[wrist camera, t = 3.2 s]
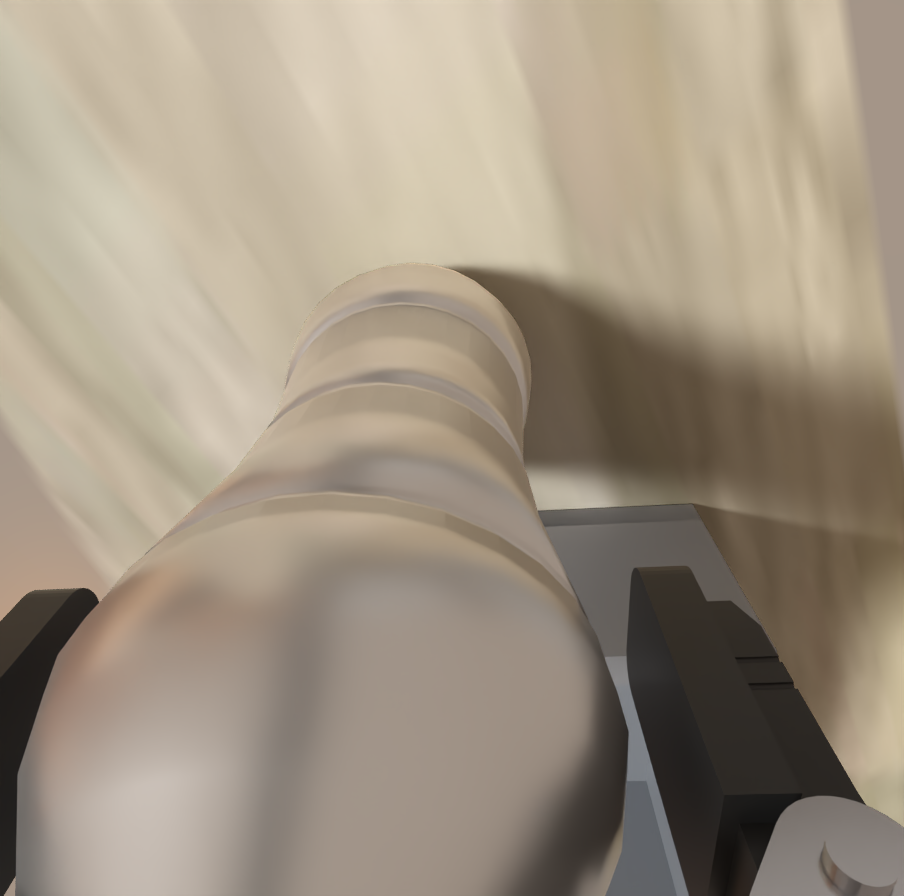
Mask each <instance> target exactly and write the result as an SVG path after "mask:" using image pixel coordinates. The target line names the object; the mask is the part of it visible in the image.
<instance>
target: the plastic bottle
mask: <svg viewBox="0 0 904 896" xmlns="http://www.w3.org/2000/svg"><path fill="white" fill-rule="evenodd" d="M530 393H531V362H530V357H529V353H528V349H527V346H526V342H525V338H524V336H523V334H522V333H521V331H520V329H519V327H518V325H517V323H516V321H515V319H514V318H513V316H512V315H511V314H510V313H509V312H508V310H507V309H506V308H505V307H504V306H503V304H502V303H501V302H500V301H499V300H498V299H497V298H496V297H495V296H493V295H492V294H491V293H490V292H488V291H487V290H486V289H484V288H483V287H482V286H481V285H479V284H478V283H477V282H475V281H474V280H472V279H470V278H468V277H466V276H464V275H462V274H461V273H459V272H457V271H455V270H451V269H447V268H444V267H440V266H437V265H433V264H419V263H406V264H397V265H389V266H386V267H382V268H379V269H376V270H373V271H370V272H367V273H364V274H361V275H358V276H356V277H354V278H352V279H351V280H349V281H347V282H345V283H344V284H342V285H340V286H338V287H337V288H335V289H334V290H333V291H332V292H331V293H330V294H329V295H327V296H326V297H325V298H324V299H323V300H322V301H321V302H319V303H318V305H317V306H316V307H315V309H314V310H313V311H312V313H311V314H310V315H309V317H308V318H307V319H306V321H305V322H304V324H303V326H302V328H301V331H300V333H299V335H298V337H297V340H296V342H295V344H294V348H293V351H292V354H291V358H290V361H289V366H288V371H287V375H286V380H285V390H284V394H283V396H282V399H281V401H280V404H279V406H278V409H277V411H276V413H275V416H274V418H273V421H272V422H271V424H270V425H269V426H268V428H267V429H266V430H265V431H264V433H263V434H262V435H261V437H260V438H259V439H258V440H257V442H256V443H255V444H254V446H253V447H252V448H251V450H250V451H249V452H248V453H247V455H246V456H245V457H244V459H243V460H242V461H241V463H240V464H239V465H238V466H237V468H236V469H235V470H234V471H233V472H232V473H231V474H230V475H229V476H227V477H226V478H225V479H224V480H223V481H222V482H221V483H220V484H219V485H218V486H217V487H216V488H215V489H214V490H213V491H211V492H210V493H209V494H208V495H207V496H206V497H205V498H204V499H203V500H202V501H201V502H200V503H199V504H198V505H197V506H196V507H194V508H193V509H192V510H191V511H190V512H189V513H188V514H187V515H186V516H185V517H184V518H183V519H182V520H181V521H180V522H178V523H177V524H176V525H175V526H174V527H173V528H172V529H171V530H170V531H169V532H168V533H167V534H166V535H165V536H164V537H163V538H161V539H160V540H159V541H158V542H157V543H156V544H155V545H154V546H153V547H152V548H151V549H150V550H149V551H148V552H147V553H146V554H145V555H144V556H143V557H142V558H141V559H140V560H138V561H137V562H136V563H135V564H133V565H132V566H131V567H130V568H129V569H128V570H127V571H126V572H125V573H124V575H123V576H122V577H121V578H120V579H119V581H118V582H117V583H116V584H115V585H114V586H113V588H112V589H111V590H110V591H109V592H108V593H107V595H106V596H105V597H104V598H103V599H102V600H101V601H100V602H99V603H98V604H97V606H96V607H95V608H94V609H93V610H92V611H91V612H90V613H89V614H88V615H87V617H86V618H85V619H84V620H83V622H82V623H81V624H80V626H79V627H78V628H77V630H76V631H75V632H74V634H73V635H72V636H71V638H70V639H69V640H68V642H67V643H66V644H65V646H64V647H63V648H62V650H61V651H60V652H59V654H58V655H57V658H56V661H55V664H54V666H53V669H52V672H51V675H50V678H49V680H48V683H47V686H46V689H45V691H44V694H43V697H42V700H41V703H40V706H39V710H38V713H37V716H36V719H35V722H34V725H33V728H32V731H31V734H30V737H29V740H28V743H27V747H26V750H25V753H24V756H23V759H22V762H21V765H20V768H19V771H18V779H17V834H16V890H15V896H605V895H606V892H607V890H608V887H609V885H610V882H611V879H612V877H613V874H614V871H615V868H616V865H617V863H618V860H619V857H620V854H621V851H622V841H623V827H624V813H625V799H626V786H627V772H628V739H629V731H628V727H627V724H626V720H625V717H624V713H623V710H622V706H621V703H620V699H619V696H618V692H617V690H616V687H615V685H614V682H613V679H612V677H611V674H610V671H609V669H608V666H607V663H606V660H605V657H604V655H603V652H602V649H601V646H600V643H599V640H598V637H597V635H596V633H595V631H594V630H593V628H592V626H591V625H590V623H589V621H588V617H587V615H586V613H585V611H584V609H583V607H582V605H581V603H580V600H579V598H578V596H577V594H576V592H575V590H574V588H573V586H572V584H571V582H570V580H569V578H568V575H567V573H566V571H565V569H564V567H563V565H562V563H561V561H560V559H559V557H558V555H557V553H556V550H555V548H554V546H553V544H552V542H551V540H550V538H549V536H548V534H547V532H546V530H545V528H544V525H543V523H542V521H541V519H540V517H539V514H538V511H537V507H536V504H535V500H534V497H533V493H532V490H531V486H530V483H529V479H528V476H527V472H526V469H525V466H524V462H523V430H524V427H525V424H526V420H527V414H528V408H529V402H530Z"/></svg>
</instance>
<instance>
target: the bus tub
mask: <svg viewBox="0 0 904 896" xmlns="http://www.w3.org/2000/svg"><path fill="white" fill-rule="evenodd" d="M538 514H539V517H540V519H541V521H542V523H543V525H544V528H545V530H546V532H547V534H548V536H549V538H550V540H551V542H552V544H553V546H554V548H555V550H556V553H557V555H558V557H559V559H560V561H561V563H562V565H563V567H564V569H565V571H566V573H567V575H568V578H569V580H570V582H571V584H572V586H573V588H574V590H575V592H576V594H577V596H578V598H579V600H580V603H581V605H582V607H583V609H584V611H585V613H586V615H587V617H588V621H589V623H590V625H591V626H592V628H593V630H594V631H595V633H596V635H597V637H598V640H599V643H600V646H601V649H602V652H603V655H604V657H605V660H606V663H607V666H608V669H609V671H610V674H611V677H612V679H613V682H614V685H615V687H616V690H617V692H618V696H619V699H620V703H621V706H622V710H623V713H624V717H625V720H626V724H627V727H628V731H629V739H628V772H627V786H626V799H625V813H624V827H623V841H622V851H621V854H620V857H619V860H618V863H617V865H616V868H615V871H614V874H613V877H612V879H611V882H610V885H609V887H608V890H607V892H606V895H605V896H689V895H688V891H687V888H686V884H685V881H684V877H683V874H682V870H681V866H680V863H679V859H678V856H677V852H676V849H675V845H674V842H673V838H672V835H671V831H670V828H669V824H668V821H667V817H666V814H665V810H664V807H663V803H662V800H661V796H660V793H659V789H658V786H657V782H656V778H655V775H654V771H653V768H652V764H651V761H650V757H649V754H648V750H647V747H646V743H645V740H644V736H643V733H642V729H641V726H640V722H639V719H638V715H637V712H636V708H635V705H634V701H633V697H632V694H631V690H630V685H629V679H628V671H627V658H626V648H627V631H628V616H629V600H630V584H631V575H632V571H633V569H634V568H636V567H661V566H688V567H689V568H690V569H691V570H692V572H693V574H694V576H695V578H696V580H697V582H698V584H699V586H700V588H701V590H702V592H703V594H704V596H705V598H706V600H707V601H728V600H731V601H732V602H733V603H734V604H735V605H737V606H738V607H739V608H740V609H742V610H743V611H744V612H745V613H746V614H748V615H749V616H750V617H751V618H752V619H754V620H755V621H756V622H757V623H758V624H760V625H761V627H762V628H763V626H762V624H761V622H760V621H759V619H758V617H757V615H756V614H755V612H754V610H753V608H752V607H751V605H750V603H749V601H748V600H747V598H746V596H745V594H744V593H743V591H742V589H741V587H740V586H739V584H738V582H737V581H736V579H735V577H734V575H733V574H732V572H731V570H730V568H729V567H728V565H727V563H726V561H725V560H724V558H723V556H722V554H721V553H720V551H719V549H718V547H717V546H716V544H715V542H714V540H713V539H712V537H711V535H710V533H709V532H708V530H707V528H706V527H705V525H704V523H703V521H702V520H701V518H700V516H699V514H698V513H697V511H696V509H695V507H694V506H693V504H681V505H659V506H638V507H616V508H594V509H573V510H551V511H538ZM763 630H764V632H765V634H766V635H767V633H766V631H765V629H764V628H763ZM767 637H768V639H769V641H770V642H771V644H772V646H773V647H774V645H773V643H772V641H771V640H770V638H769V636H768V635H767ZM774 649H775V651H776V653H777V650H776V648H775V647H774Z"/></svg>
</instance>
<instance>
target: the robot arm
mask: <svg viewBox="0 0 904 896" xmlns="http://www.w3.org/2000/svg"><path fill="white" fill-rule="evenodd" d="M98 603H99V601H98V599H97V597H96V595H95V594H94V593H93V592H92V591H91V590H89V589H86V588H76V589H53V590H34V591H32V592H30V593H28V594H26V595H25V596H24V597H23V598H22V599H21V600H20V601H19V602H18V603H17V604H16V605H15V607H14V608H13V609H12V610H11V611H10V612H9V613H8V614H7V615H6V616H5V617H4V618H3V620H1V621H0V896H4V894H5V892H6V891H7V889H8V888H9V886H10V884H11V883H12V881H13V879H14V878H15V876H16V834H17V779H18V771H19V768H20V765H21V762H22V759H23V756H24V753H25V750H26V747H27V743H28V740H29V737H30V734H31V731H32V728H33V725H34V722H35V719H36V716H37V713H38V710H39V706H40V703H41V700H42V697H43V694H44V691H45V689H46V686H47V683H48V680H49V678H50V675H51V672H52V669H53V666H54V664H55V661H56V658H57V655H58V654H59V652H60V651H61V650H62V648H63V647H64V646H65V644H66V643H67V642H68V640H69V639H70V638H71V636H72V635H73V634H74V632H75V631H76V630H77V628H78V627H79V626H80V624H81V623H82V622H83V620H84V619H85V618H86V617H87V615H88V614H89V613H90V612H91V611H92V610H93V609H94V608H95V607H96V606H97V604H98ZM626 658H627V671H628V679H629V685H630V690H631V694H632V697H633V701H634V705H635V708H636V712H637V715H638V719H639V722H640V726H641V729H642V733H643V736H644V740H645V743H646V747H647V750H648V754H649V757H650V761H651V764H652V768H653V771H654V775H655V778H656V782H657V786H658V789H659V793H660V796H661V800H662V803H663V807H664V810H665V814H666V817H667V821H668V824H669V828H670V831H671V835H672V838H673V842H674V845H675V849H676V852H677V856H678V859H679V863H680V866H681V870H682V874H683V877H684V881H685V884H686V888H687V891H688V895H689V896H904V828H903V827H902V826H901V825H900V824H898V823H897V822H895V821H894V820H892V819H891V818H889V817H888V816H886V815H885V814H883V813H881V812H879V811H877V810H875V809H873V808H871V807H869V806H867V805H866V804H865V803H864V801H863V800H862V798H861V797H860V795H859V794H858V792H857V790H856V789H855V787H854V785H853V784H852V782H851V780H850V778H849V777H848V775H847V773H846V771H845V770H844V768H843V766H842V765H841V763H840V761H839V759H838V758H837V756H836V754H835V753H834V751H833V749H832V747H831V746H830V744H829V742H828V740H827V739H826V737H825V735H824V734H823V732H822V730H821V728H820V727H819V725H818V723H817V721H816V720H815V718H814V716H813V715H812V713H811V711H810V709H809V708H808V706H807V704H806V703H805V701H804V699H803V697H802V696H801V694H800V692H799V690H798V689H795V688H794V684H793V680H792V678H791V677H790V675H789V673H788V672H787V670H786V668H785V666H784V665H783V663H782V662H779V659H778V654H777V653H776V651H775V649H774V647H773V646H772V644H771V642H770V641H769V639H768V637H767V635H766V634H765V632H764V630H763V628H762V627H761V625H760V624H758V623H757V622H756V621H755V620H754V619H752V618H751V617H750V616H749V615H748V614H746V613H745V612H744V611H743V610H742V609H740V608H739V607H738V606H737V605H735V604H734V603H733V602H732V601H731V600H728V601H707V600H706V598H705V596H704V594H703V592H702V590H701V588H700V586H699V584H698V582H697V580H696V578H695V576H694V574H693V572H692V570H691V569H690V568H689V567H688V566H661V567H636V568H634V569H633V571H632V575H631V584H630V600H629V616H628V631H627V648H626Z"/></svg>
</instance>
